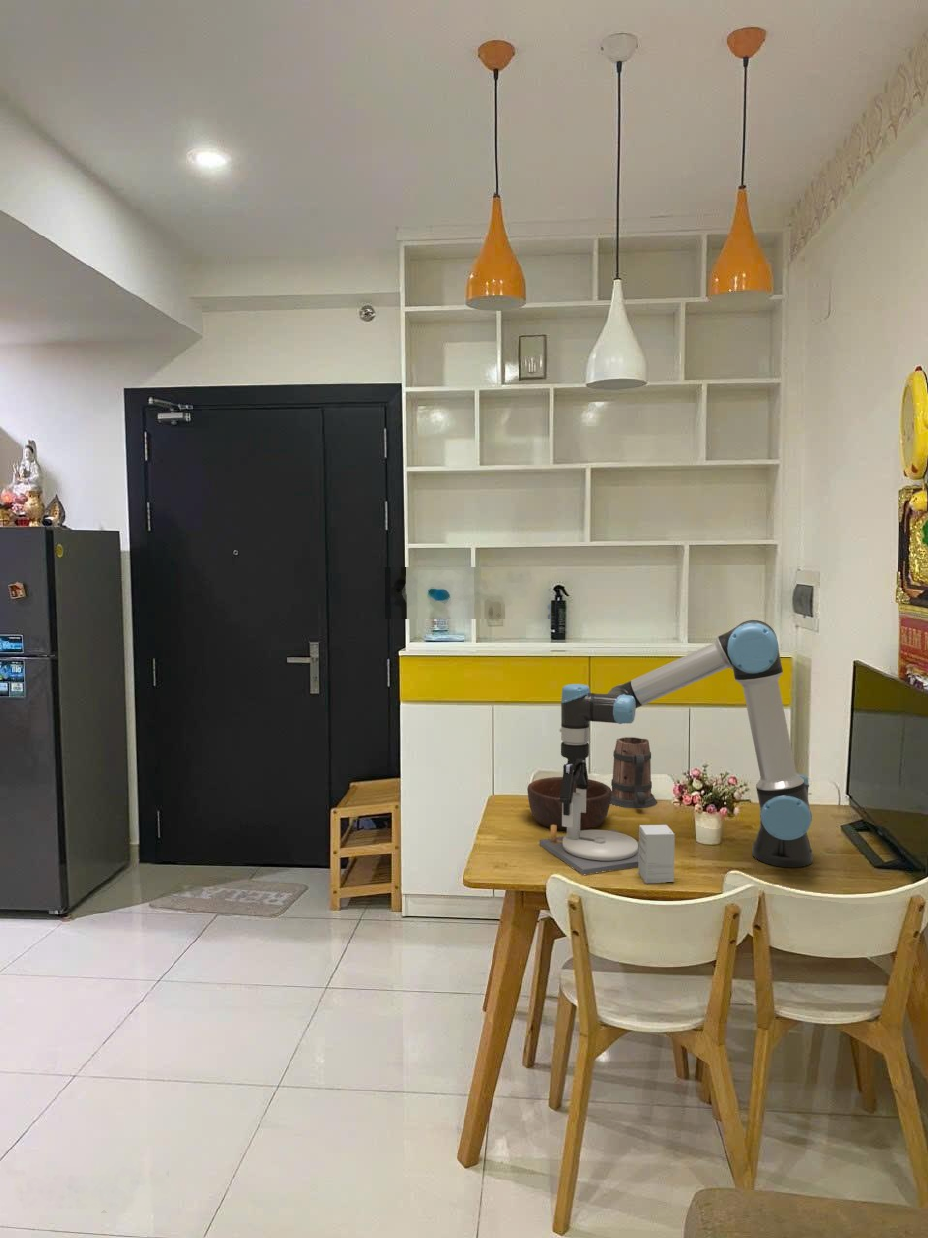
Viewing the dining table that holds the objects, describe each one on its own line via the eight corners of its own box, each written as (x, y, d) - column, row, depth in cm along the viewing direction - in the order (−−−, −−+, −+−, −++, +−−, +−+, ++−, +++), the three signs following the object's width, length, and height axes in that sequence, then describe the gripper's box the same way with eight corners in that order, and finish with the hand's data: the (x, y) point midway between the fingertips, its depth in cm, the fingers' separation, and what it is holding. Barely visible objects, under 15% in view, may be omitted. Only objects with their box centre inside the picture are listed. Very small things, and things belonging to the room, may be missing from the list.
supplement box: (666, 872, 225) (667, 824, 224) (674, 884, 217) (675, 833, 216) (637, 872, 224) (638, 824, 223) (644, 884, 217) (645, 834, 216)
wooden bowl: (617, 835, 253) (618, 800, 253) (530, 834, 253) (530, 799, 252) (603, 808, 278) (604, 776, 277) (523, 808, 278) (524, 776, 277)
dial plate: (663, 863, 231) (664, 840, 231) (583, 875, 222) (583, 852, 222) (614, 834, 253) (614, 814, 253) (539, 845, 244) (539, 823, 244)
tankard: (600, 793, 295) (601, 734, 293) (650, 793, 296) (652, 734, 294) (614, 815, 272) (615, 751, 270) (668, 815, 272) (670, 751, 271)
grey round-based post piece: (645, 841, 242) (647, 793, 241) (626, 865, 224) (628, 813, 223) (575, 831, 251) (576, 784, 250) (552, 853, 233) (553, 803, 232)
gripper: (574, 731, 251) (573, 805, 253) (547, 750, 228) (547, 831, 230) (600, 733, 248) (599, 808, 250) (576, 753, 225) (575, 834, 227)
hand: (574, 819), depth 240 cm, fingers open, 13 cm apart
